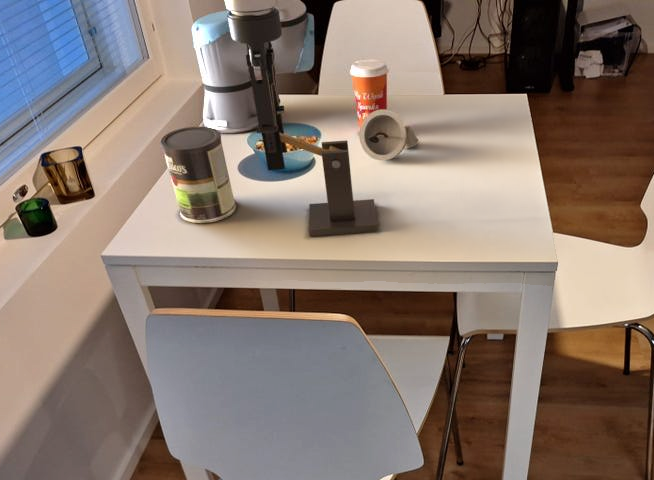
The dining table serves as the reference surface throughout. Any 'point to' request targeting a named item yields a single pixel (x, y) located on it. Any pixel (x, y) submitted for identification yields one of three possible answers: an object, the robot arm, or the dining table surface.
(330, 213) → the stand
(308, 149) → the switch lever
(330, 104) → the dining table surface
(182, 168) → the coffee can
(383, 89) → the coffee cup
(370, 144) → the light fixture
